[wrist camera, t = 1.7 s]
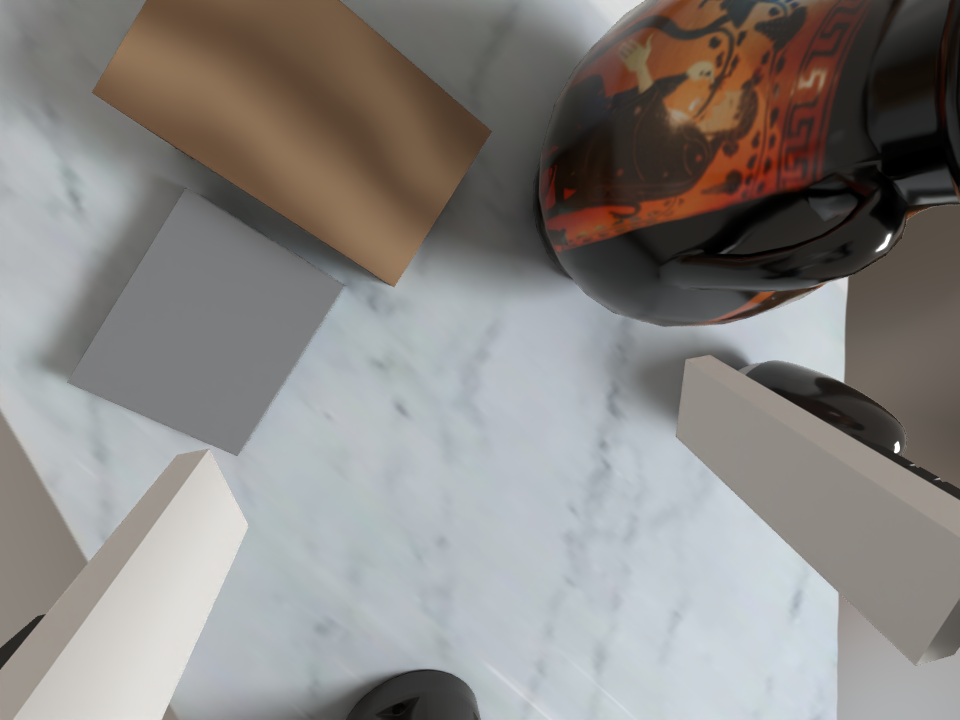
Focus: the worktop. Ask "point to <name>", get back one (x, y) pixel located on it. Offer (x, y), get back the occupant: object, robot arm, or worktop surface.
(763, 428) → the robot arm
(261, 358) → the slate board
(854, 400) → the pump dispenser
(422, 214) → the walnut shelf
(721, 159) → the amphora vase
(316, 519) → the worktop surface
